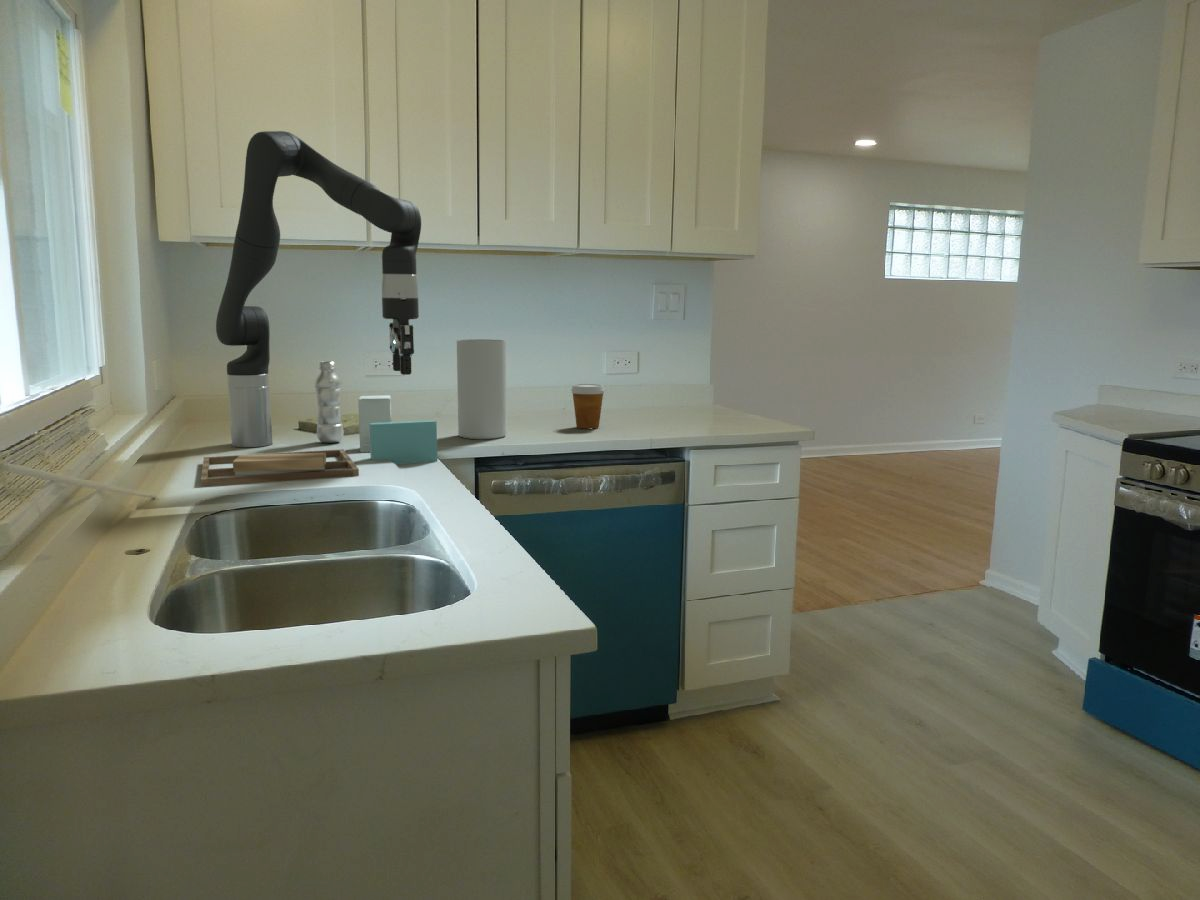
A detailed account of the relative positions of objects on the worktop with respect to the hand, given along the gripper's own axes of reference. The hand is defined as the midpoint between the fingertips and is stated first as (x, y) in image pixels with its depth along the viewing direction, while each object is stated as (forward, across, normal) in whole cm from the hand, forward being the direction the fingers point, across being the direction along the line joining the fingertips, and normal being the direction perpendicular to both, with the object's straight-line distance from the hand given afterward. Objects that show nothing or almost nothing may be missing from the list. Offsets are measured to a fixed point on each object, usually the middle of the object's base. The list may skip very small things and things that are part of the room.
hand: (402, 372), depth 184 cm
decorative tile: (+21, -56, -5) cm, 60 cm away
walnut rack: (+20, +4, -26) cm, 33 cm away
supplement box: (+20, -19, -3) cm, 28 cm away
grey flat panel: (+19, +12, -26) cm, 34 cm away
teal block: (+20, 0, 0) cm, 20 cm away
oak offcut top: (+17, +12, -26) cm, 33 cm away
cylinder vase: (+20, -30, +26) cm, 44 cm away
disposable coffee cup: (+20, -35, +58) cm, 70 cm away
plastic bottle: (+20, -33, -12) cm, 40 cm away
